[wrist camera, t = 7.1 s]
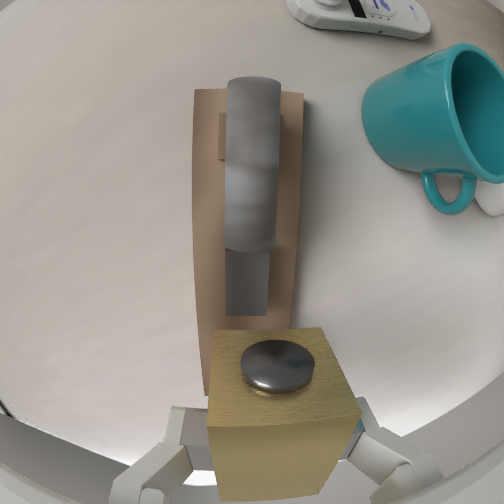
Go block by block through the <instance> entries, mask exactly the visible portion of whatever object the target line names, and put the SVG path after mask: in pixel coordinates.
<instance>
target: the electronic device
mask: <svg viewBox="0 0 504 504" xmlns="http://www.w3.org/2000/svg"><path fill="white" fill-rule="evenodd" d="M286 4H287V7H288V10H289V11H290V12H291V14H292V15H293V16H294V17H295V18H296V19H298V20H299V21H300V22H302V23H304V24H306V25H308V26H311V27H314V28H320V29H335V30H349V31H360V32H368V33H376V34H383V35H389V36H396V37H401V38H406V39H409V40H415V39H418V38H420V37H422V36H424V35H426V34H428V33H429V31H430V29H431V23H430V20H429V18H428V15H427V14H426V12H425V10H424V9H423V8H422V7H421V6H420V5H419V4H418V3H417V2H416V1H415V0H286Z"/></svg>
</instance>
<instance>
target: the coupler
mask: <svg viewBox="0 0 504 504" xmlns="http://www.w3.org/2000/svg"><path fill="white" fill-rule="evenodd" d="M361 415H362V411H361V409H360V407H359V405H358V403H357V401H356V399H355V397H354V394H353V392H352V390H351V388H350V386H349V384H348V382H347V380H346V378H345V376H344V374H343V372H342V370H341V367H340V365H339V363H338V361H337V359H336V357H335V355H334V353H333V351H332V349H331V347H330V345H329V343H328V341H327V339H326V337H325V335H324V333H323V331H322V329H321V327H320V328H302V329H277V330H215V332H214V343H213V353H212V364H211V375H210V386H209V399H208V411H207V425H206V426H207V433H208V439H209V444H210V450H211V456H212V461H213V466H214V471H215V476H216V481H217V486H218V490H219V495H220V499H221V501H231V502H234V501H235V502H236V501H265V500H277V499H287V498H295V497H303V496H309V495H315V494H318V493H319V492H320V490H321V488H322V487H323V486H324V484H325V482H326V481H327V479H328V477H329V476H330V474H331V472H332V471H333V469H334V467H335V466H336V464H337V462H338V460H339V459H340V457H341V455H342V453H343V451H344V449H345V447H346V446H347V444H348V442H349V440H350V438H351V436H352V434H353V432H354V430H355V428H356V426H357V423H358V421H359V419H360V417H361Z"/></svg>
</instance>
